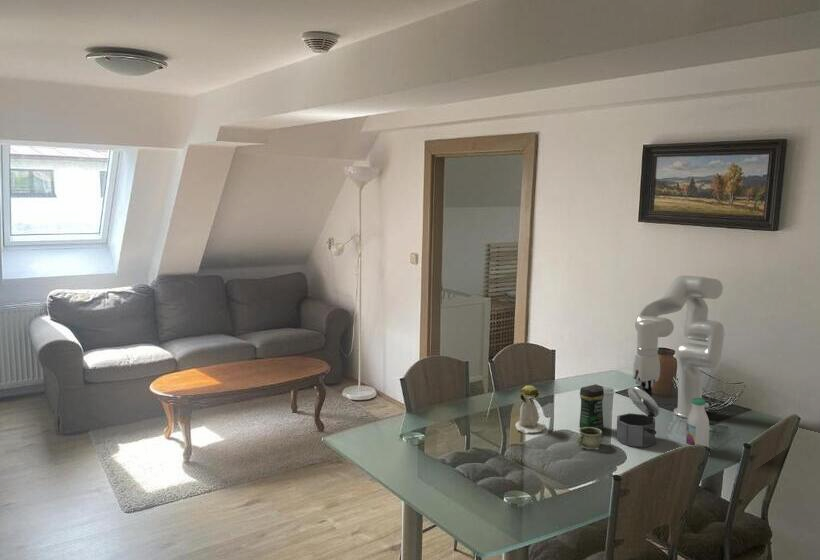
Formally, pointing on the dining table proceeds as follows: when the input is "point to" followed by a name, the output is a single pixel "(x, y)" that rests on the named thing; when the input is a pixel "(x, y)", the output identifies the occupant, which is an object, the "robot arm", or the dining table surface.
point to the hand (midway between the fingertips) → (646, 396)
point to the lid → (643, 401)
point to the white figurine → (529, 411)
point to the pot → (636, 430)
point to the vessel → (590, 437)
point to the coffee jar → (591, 406)
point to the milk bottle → (697, 424)
